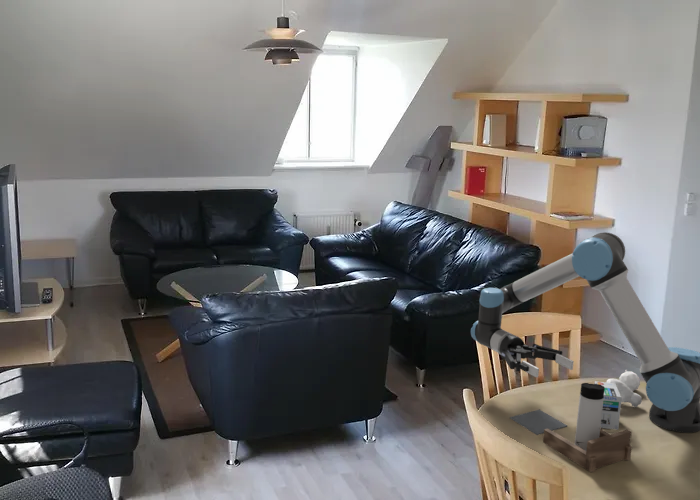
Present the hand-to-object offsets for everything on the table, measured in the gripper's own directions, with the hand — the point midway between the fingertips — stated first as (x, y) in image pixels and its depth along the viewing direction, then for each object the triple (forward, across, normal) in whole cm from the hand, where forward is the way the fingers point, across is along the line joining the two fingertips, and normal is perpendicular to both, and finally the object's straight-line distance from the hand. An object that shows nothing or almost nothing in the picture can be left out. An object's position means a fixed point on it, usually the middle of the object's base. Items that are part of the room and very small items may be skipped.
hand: (555, 369), depth 206 cm
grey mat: (-3, +1, -18) cm, 19 cm away
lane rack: (+16, +1, -18) cm, 24 cm away
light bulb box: (+5, -18, -18) cm, 26 cm away
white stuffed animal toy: (-1, -32, -18) cm, 37 cm away
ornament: (-8, -43, -18) cm, 48 cm away
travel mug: (+16, +1, -18) cm, 24 cm away
